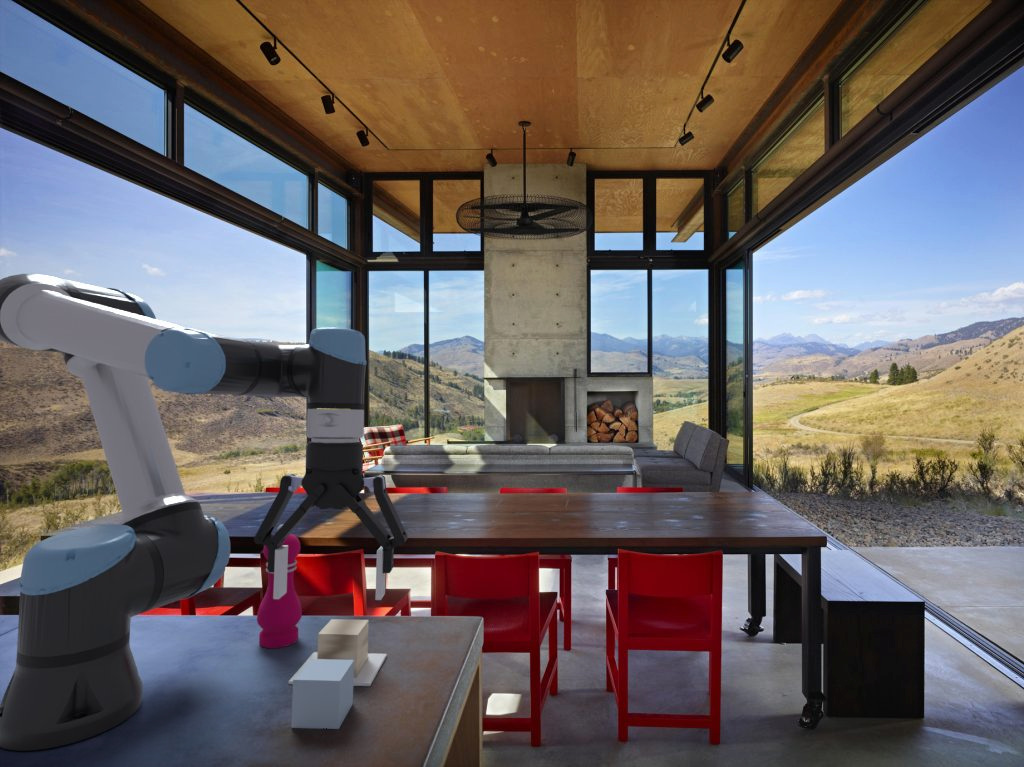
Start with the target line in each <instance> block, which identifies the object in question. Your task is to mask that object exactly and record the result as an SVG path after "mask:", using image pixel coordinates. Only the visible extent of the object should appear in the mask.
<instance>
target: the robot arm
mask: <svg viewBox="0 0 1024 767" xmlns="http://www.w3.org/2000/svg"><path fill="white" fill-rule="evenodd" d="M0 341H2V342H4V343H7V344H9V345H11V346H15V347H18V348H25V349H28V350H33V351H42V352H43V351H45V352H50V353H51V352H52V353H60V354H62V356H63V360H64V363H65V367H66V370H67V372H68V373H70V374H71V375H74V376H76V377H78V378H80V379H81V380H82V382H83V386H84V390H85V392H86V395H87V399H88V400H87V401H88V403H89V406H90V410H91V413H92V416H93V419H94V421H95V422H94V423H95V425H96V428H97V432H98V436H99V438H100V439H99V440H100V443H101V446H102V450H103V453H104V457H105V459H106V463H107V466H108V470H109V473H110V476H111V479H112V482H113V485H114V489H115V492H116V497H117V499H118V503H119V505H120V506H119V507H120V510H121V513H122V516H121V518H120V520H118V521H119V522H118V523H117V524H113V523H112V524H103V525H102V524H100V525H99V524H98V525H95V526H90V527H82V528H77V529H72V530H68V531H64V532H61V533H59V534H55V535H52V536H49V537H48V538H45V539H43V540H41V541H39V542H37V543H35V544H34V545H33V546H32V547H31V548H30V549H29V550H28V551H27V552H26V554H24V555H25V556H24V558H23V562H22V568H21V574H20V578H19V580H18V590H19V603H18V604H19V608H18V610H19V611H18V622H17V623H18V626H17V629H18V630H17V642H16V643H17V644H16V645H17V646H16V658H15V659H16V661H15V668H14V670H13V673H12V676H11V677H10V681H9V682H8V684H7V687H6V690H5V692H4V693H3V697H2V700H1V701H0V748H2V749H5V750H10V751H20V752H21V751H39V750H46V749H53V748H58V747H61V746H66V745H69V744H74V743H77V742H80V741H83V740H86V739H89V738H92V737H95V736H97V735H99V734H102V733H105V732H106V731H108V730H111V729H113V728H114V727H116V726H118V725H120V724H122V723H123V722H124V721H126V720H128V719H129V718H130V717H131V716H133V714H135V713H136V712H137V711H139V708H140V707H141V706H142V703H143V686H144V685H143V680H142V679H141V677H140V675H139V672H138V668H137V664H136V661H135V658H134V656H133V652H132V649H131V646H130V645H131V644H130V638H131V620H132V618H133V617H135V616H139V615H140V614H144V613H146V612H149V611H152V610H155V609H158V608H160V607H163V606H166V605H168V604H172V603H174V602H177V601H180V600H187V599H190V598H191V597H193V596H195V595H198V593H201V592H203V591H206V590H209V589H210V588H211V587H213V586H214V585H215V584H216V583H217V582H218V581H219V580H220V579H221V578H222V577H223V575H224V573H225V571H226V567H227V565H228V564H229V561H230V556H231V539H230V536H229V535H230V534H229V532H228V530H227V528H226V526H225V525H224V523H223V522H222V521H220V520H218V519H217V517H214V516H209V515H205V514H204V513H203V512H204V511H203V509H202V506H201V502H200V501H199V499H196V498H194V497H191V496H188V495H187V494H186V493H185V489H184V486H183V484H182V483H183V482H182V479H181V477H180V474H179V471H178V467H177V464H176V461H175V459H174V455H173V453H172V449H171V447H170V446H171V445H170V442H169V440H168V438H167V434H166V430H165V427H164V425H163V421H162V418H161V415H160V412H159V409H158V406H157V404H156V400H155V396H154V394H153V391H152V388H151V385H150V381H149V379H150V380H151V381H152V382H153V384H154V386H155V387H157V388H158V389H160V390H162V391H165V392H171V393H178V394H183V395H188V396H189V395H191V396H192V395H229V396H231V395H232V396H247V397H255V398H261V399H262V398H266V399H271V398H297V397H299V398H307V416H306V417H307V420H306V421H307V422H306V423H307V424H306V437H307V438H309V439H310V440H311V441H309V442H307V444H306V446H305V473H304V476H297V475H296V474H295V473H289V474H286V475H284V476H281V478H280V483H279V490H278V493H277V495H276V496H275V498H274V500H273V502H272V503H271V506H270V507H269V510H268V512H267V513H266V515H265V517H264V519H263V521H262V523H261V524H260V527H259V528H258V529H257V532H256V533H255V535H254V537H253V542H254V543H255V544H256V545H263V546H264V545H265V546H266V547H267V548H268V560H267V562H268V571H269V572H274V593H273V599H280V598H281V597H282V596H283V595H284V594H286V593H287V566H288V545H282V546H281V544H282V543H283V541H284V540H285V539H286V538H287V537H288V536H289V535H290V534H292V532H293V531H294V530H296V528H297V527H298V526H299V525H300V523H301V522H303V520H304V519H305V518H306V517H307V516H308V515H309V513H310V512H311V511H312V510H313V509H314V508H315V507H316V508H318V509H319V510H327V509H334V510H344V509H347V508H349V509H350V511H351V512H352V513H353V514H355V515H356V517H358V519H359V520H360V522H361V523H362V524H363V525H364V527H365V528H366V529H367V530H368V532H369V533H370V534H371V535H372V536H373V538H374V539H375V540H376V541H377V542H378V544H379V545H380V547H379V548H378V549H377V550H376V562H375V563H376V566H375V568H376V569H375V596H374V597H375V598H374V600H375V601H382V599H383V597H384V596H385V594H386V574H391V572H392V570H393V568H394V558H395V557H394V555H395V554H394V550H395V548H397V547H398V546H403V545H405V542H406V541H407V540H408V537H409V536H408V534H407V532H406V529H405V528H404V525H403V523H402V521H401V519H400V517H399V515H398V513H397V510H396V508H395V506H394V504H393V502H392V500H391V497H390V495H389V493H388V491H387V482H386V481H387V480H386V476H385V475H383V474H379V475H377V476H372V477H365V476H364V473H363V464H364V463H363V462H364V461H363V460H364V444H363V443H362V442H361V441H360V439H361V438H363V437H364V432H365V431H364V428H365V424H364V422H365V404H364V401H365V383H366V382H365V381H366V380H365V379H366V367H367V363H368V362H367V360H366V338H365V335H364V334H363V333H362V332H360V331H359V330H356V329H352V328H345V327H318V328H314V329H312V330H311V332H310V337H309V340H308V343H307V344H276V343H267V342H263V341H256V340H251V339H244V338H236V337H230V336H227V335H220V334H214V333H210V332H208V331H207V332H206V331H202V330H199V329H195V328H191V327H185V326H182V325H177V324H174V323H171V322H167V321H163V320H158V319H157V317H156V314H155V313H154V311H153V309H152V308H151V307H150V305H149V304H148V303H147V302H146V301H145V300H144V299H142V298H140V296H137V295H135V294H132V293H129V292H125V291H124V290H121V289H117V288H112V287H100V286H97V285H92V284H87V283H83V282H79V281H74V280H69V279H65V278H59V277H56V276H51V275H47V274H41V273H39V274H38V273H20V274H13V275H9V276H5V277H3V278H1V279H0ZM299 487H302V488H303V490H304V492H305V493H306V495H307V497H305V499H304V500H303V501H302V502H301V503H300V505H299V506H298V507H297V508H296V510H295V511H294V512H293V513H292V514H291V516H290V517H289V518H288V519H287V520H286V521H285V522H284V523H283V526H282V527H281V528H280V529H279V530H278V531H276V532H275V533H274V534H273V531H274V530H275V529H276V527H277V524H278V523H279V520H280V519H281V517H282V515H283V513H284V512H285V509H286V507H287V505H288V504H289V502H290V501H291V498H292V496H293V495H294V492H296V491H297V490H299ZM365 487H367V488H368V490H369V492H370V493H372V494H374V497H375V500H376V503H377V505H378V507H379V509H380V511H381V514H382V516H383V517H384V519H385V521H386V523H387V526H388V529H389V531H390V533H391V534H390V533H389V531H388V529H386V528H385V526H384V525H383V523H381V521H380V520H379V519H378V517H376V515H375V513H373V512H372V510H371V509H370V508H369V507H368V504H366V503H367V502H366V501H365V500H364V499H363V497H362V496H361V495H360V494H361V492H362V491H363V490H364V488H365Z"/></svg>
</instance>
